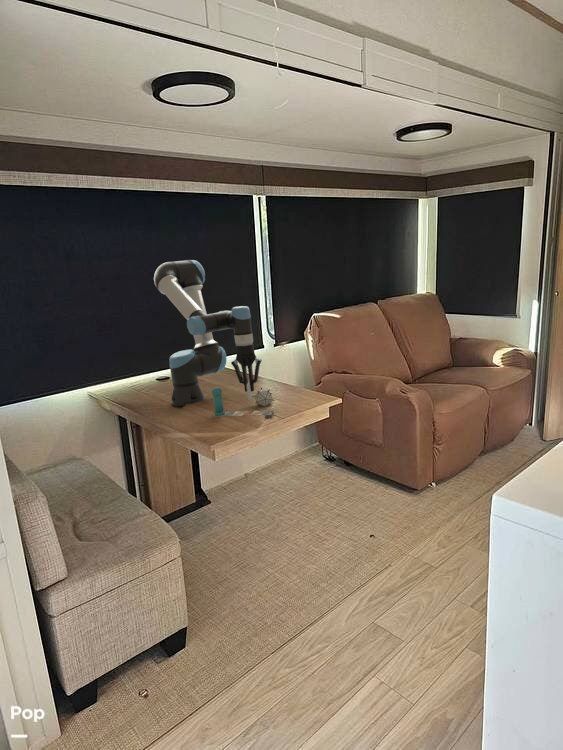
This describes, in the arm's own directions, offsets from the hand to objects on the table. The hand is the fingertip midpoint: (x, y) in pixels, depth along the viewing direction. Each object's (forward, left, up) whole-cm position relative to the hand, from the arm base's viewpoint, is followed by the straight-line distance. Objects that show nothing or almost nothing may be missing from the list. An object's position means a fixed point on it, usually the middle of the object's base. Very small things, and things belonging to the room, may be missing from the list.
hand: (250, 398), depth 213 cm
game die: (+5, 0, -4) cm, 7 cm away
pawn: (-11, -11, -3) cm, 16 cm away
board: (-1, -11, -4) cm, 11 cm away
